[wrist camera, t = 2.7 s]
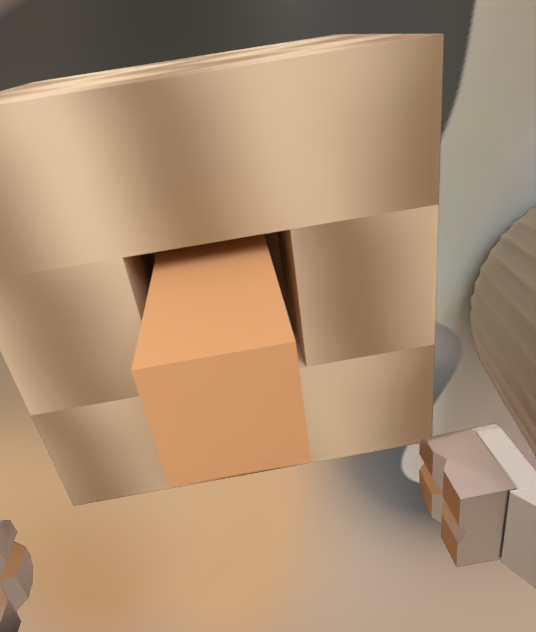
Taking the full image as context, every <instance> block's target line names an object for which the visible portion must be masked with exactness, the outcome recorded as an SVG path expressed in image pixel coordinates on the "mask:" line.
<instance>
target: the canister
mask: <svg viewBox="0 0 536 632" xmlns="http://www.w3.org/2000/svg"><path fill="white" fill-rule="evenodd" d="M471 307H472V309H471V312H470V322H471V325H472V328H471V330H472V338H473V341H474V343H475V346H476V349H477V353H478V356H479V358H480V360H481V362H482V364H483V366H484V368H485V370H486V372H487V373H488V375H489V377H490V379H491V380H492V382H493V384H494V386H495V388H496V389H497V391H498V393H499V395H500V397H501V398H502V400H503V402H504V404H505V405H506V407H507V409H508V410H509V412H510V414H511V416H512V417H513V419H514V421H515V422H516V424H517V426H518V427H519V429H520V431H521V432H522V434H523V436H524V437H525V439H526V441H527V442H528V444H529V446H530V447H531V449H532V451H533V452H534V454H535V456H536V206H535V207H532V208H530V209H529V210H528V212H527V213H526V214H525V215H524V216H523V217H521V218H520V219H518V220H516V221H514V223H513V225H512V226H511V227H510V228H509V230H508V231H506V232H505V233H504V234H502V235H501V236H500V239H499V241H498V243H497V244H496V245H495V246H494V247H493V248H492V249H491V250H490V252H489V255H488V257H487V259H486V261H485V262H484V264H482V265H481V269H480V274H479V276H478V278H477V279H476V281H475V283H474V293H473V295H472V297H471Z"/></svg>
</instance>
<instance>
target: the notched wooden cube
mask: <svg viewBox="0 0 536 632" xmlns="http://www.w3.org/2000/svg"><path fill="white" fill-rule="evenodd" d="M443 39H444V34H336V35H330V36H324V37H317V38H311V39H305V40H298V41H292V42H285V43H279V44H273V45H266V46H260V47H254V48H247V49H241V50H235V51H228V52H222V53H216V54H209V55H203V56H197V57H191V58H184V59H178V60H171V61H166V62H159V63H152V64H146V65H140V66H134V67H127V68H121V69H114V70H108V71H102V72H95V73H89V74H84V75H76V76H70V77H64V78H57V79H51V80H45V81H39V82H33V83H29V84H25V85H22V86H18V87H15V88H11V89H8V90H4V91H0V351H1V353H2V355H3V357H4V359H5V362H6V364H7V366H8V368H9V370H10V372H11V374H12V377H13V379H14V381H15V383H16V385H17V387H18V389H19V391H20V394H21V396H22V398H23V400H24V402H25V404H26V406H27V408H28V410H29V412H30V415H31V417H32V419H33V421H34V423H35V425H36V427H37V430H38V432H39V434H40V436H41V438H42V440H43V442H44V444H45V446H46V449H47V450H48V453H49V455H50V457H51V459H52V461H53V463H54V466H55V467H56V469H57V472H58V474H59V476H60V478H61V480H62V483H63V485H64V487H65V489H66V491H67V493H68V495H69V497H70V499H71V502H72V504H73V506H76V505H81V504H87V503H92V502H98V501H103V500H108V499H114V498H120V497H125V496H131V495H136V494H142V493H147V492H153V491H158V490H164V489H169V488H175V487H181V486H186V485H192V484H197V483H203V482H208V481H214V480H219V479H224V478H230V477H235V476H241V475H246V474H252V473H258V472H263V471H268V470H274V469H279V468H285V467H290V466H296V465H302V464H307V463H312V462H318V461H324V460H329V459H335V458H340V457H346V456H351V455H356V454H362V453H368V452H373V451H378V450H384V449H390V448H395V447H401V446H406V445H412V444H417V443H420V442H421V439H423V438H428V437H432V420H433V384H434V351H435V350H434V349H435V317H436V282H437V248H438V213H439V179H440V144H441V108H442V75H443V73H442V72H443V41H444V40H443ZM260 234H264V236H265V240H266V243H267V246H268V250H269V253H270V256H271V260H272V263H273V267H274V270H275V273H276V277H277V280H278V283H279V287H280V290H281V294H282V297H283V300H284V304H285V307H286V310H287V314H288V317H289V321H290V324H291V327H292V331H293V334H294V337H295V341H296V348H297V355H298V363H299V371H300V378H301V386H302V394H303V402H304V409H305V417H306V425H307V432H308V440H309V448H310V455H311V462H305V463H300V464H294V465H289V466H283V467H278V468H272V469H267V470H261V471H256V472H250V473H245V474H239V475H234V476H228V477H223V478H217V479H212V480H206V481H200V482H195V483H189V484H184V485H178V486H173V487H169V484H168V481H167V478H166V475H165V472H164V469H163V466H162V463H161V460H160V457H159V454H158V451H157V448H156V445H155V442H154V439H153V436H152V433H151V430H150V426H149V423H148V420H147V417H146V414H145V411H144V408H143V405H142V402H141V399H140V396H139V393H138V390H137V387H136V384H135V381H134V378H133V375H132V372H131V368H132V364H133V359H134V355H135V350H136V345H137V341H138V336H139V332H140V327H141V323H142V318H143V314H144V309H145V305H146V300H147V295H148V291H149V286H150V282H151V277H152V273H153V268H154V264H155V259H156V255H157V252H159V251H165V250H171V249H177V248H183V247H189V246H195V245H201V244H207V243H213V242H219V241H224V240H230V239H236V238H242V237H248V236H254V235H260Z"/></svg>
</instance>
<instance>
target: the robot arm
mask: <svg viewBox="0 0 536 632" xmlns="http://www.w3.org/2000/svg"><path fill="white" fill-rule="evenodd" d="M419 454H420V455H421V457H422V459H423V461H424V465H423V466H422V467H421V469H420V470H419V474H420V486H421V490H422V495H423V498H424V501H425V504H426V507H427V509H428V511H429V513H430V515H431V517H432V518H433V519H435V520H437V521H438V522H440V523H441V537H442V539H443V541H444V543H445V545H446V547H447V549H448V551H449V553H450V555H451V557H452V559H453V561H454V563H455V565H456V567H459V566H465V565H471V564H476V563H481V562H488V561H494V560H499V559H501V562H502V563H503V564H505V565H506V566H507V567H508V568H510V569H511V570H512V571H514V572H515V573H516V574H518V575H519V576H520V577H521V578H523V579H524V580H526V581H527V582H528V583H529V584H531V585H532V586H533V587H534V588H536V470H535V469H534V468H533V467H532V465H531V464H530V463H529V462H528V460H527V459H526V458H525V457H524V455H523V454H522V453H521V452H520V450H519V449H518V448H517V447H516V445H515V444H514V443H513V442H512V440H511V439H510V438H509V437H508V436H507V434H506V433H505V432H504V431H503V429H502V428H501V427H500V426H498V425H497V424H491V425H486V426H481V427H477V428H472V429H470V430H469V429H467V430H462V431H457V432H452V433H447V434H442V435H437V436H432V437H428V438H423V439H421V442H420V453H419ZM16 534H17V530H16V529H15V527H14V526H13V524H12V523H11V521H10V520H0V632H18V629H19V626H20V623H21V620H20V618H19V616H18V614H17V612H16V611H17V610H18V609H19V608H20V606H21V605H22V604H23V603H24V602H25V601H26V600H27V599H28V597H29V593H30V590H31V586H32V580H33V564H32V560H31V556H30V554H29V552H28V550H27V548H26V547H25V546H23V545H21V544H19V543H17V542H15V541H14V540H15V537H16Z"/></svg>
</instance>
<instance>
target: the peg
mask: <svg viewBox="0 0 536 632" xmlns="http://www.w3.org/2000/svg"><path fill="white" fill-rule="evenodd" d="M131 372H132V375H133V378H134V381H135V384H136V387H137V390H138V393H139V396H140V399H141V402H142V405H143V408H144V411H145V414H146V417H147V420H148V423H149V426H150V430H151V433H152V436H153V439H154V442H155V445H156V448H157V451H158V454H159V457H160V460H161V463H162V466H163V469H164V472H165V475H166V478H167V481H168V484H169V487H173V486H178V485H184V484H189V483H195V482H200V481H206V480H212V479H217V478H223V477H228V476H234V475H239V474H245V473H250V472H256V471H261V470H267V469H272V468H278V467H283V466H289V465H294V464H300V463H305V462H311V455H310V448H309V440H308V432H307V425H306V417H305V409H304V402H303V394H302V386H301V378H300V371H299V363H298V355H297V348H296V341H295V337H294V334H293V331H292V327H291V324H290V321H289V317H288V314H287V310H286V307H285V304H284V300H283V297H282V294H281V290H280V287H279V283H278V280H277V277H276V273H275V270H274V267H273V263H272V260H271V256H270V253H269V250H268V246H267V243H266V240H265V236H264V234H260V235H254V236H248V237H242V238H236V239H230V240H224V241H219V242H213V243H207V244H201V245H195V246H189V247H183V248H177V249H171V250H165V251H159V252H157V255H156V259H155V264H154V268H153V273H152V277H151V282H150V286H149V291H148V295H147V300H146V305H145V309H144V314H143V318H142V323H141V327H140V332H139V336H138V341H137V345H136V350H135V355H134V359H133V364H132V368H131Z"/></svg>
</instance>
